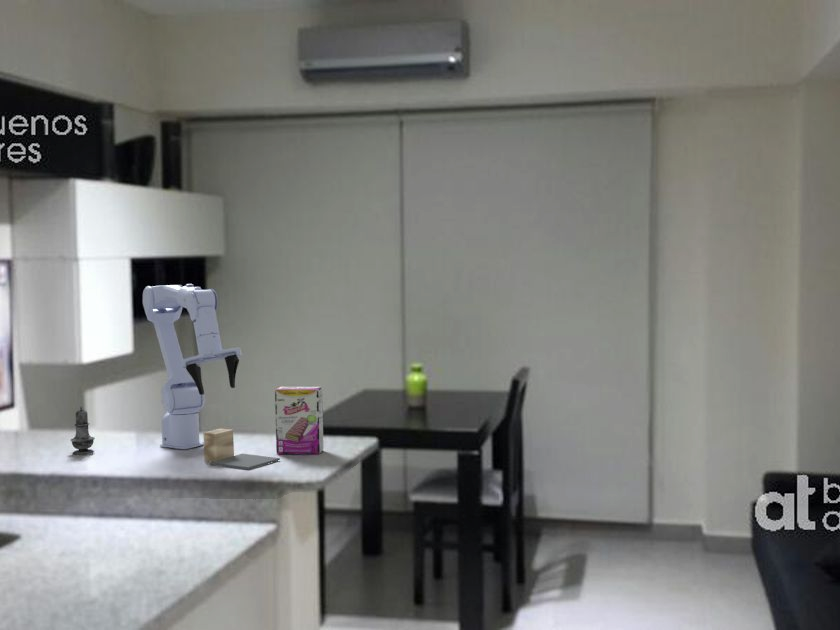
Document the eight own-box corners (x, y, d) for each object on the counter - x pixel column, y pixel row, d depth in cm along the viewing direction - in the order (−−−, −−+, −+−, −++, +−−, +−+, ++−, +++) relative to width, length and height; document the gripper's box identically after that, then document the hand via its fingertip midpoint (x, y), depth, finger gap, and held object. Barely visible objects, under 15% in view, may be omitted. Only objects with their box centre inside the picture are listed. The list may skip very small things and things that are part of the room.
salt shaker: (99, 452, 242) (97, 405, 241) (77, 456, 238) (75, 408, 237) (88, 449, 246) (86, 403, 245) (66, 453, 242) (64, 406, 241)
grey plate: (210, 464, 224) (210, 462, 224) (242, 455, 233) (242, 453, 233) (248, 469, 218) (248, 467, 218) (279, 460, 227) (279, 458, 227)
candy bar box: (275, 454, 234) (273, 389, 233) (280, 450, 239) (278, 386, 238) (320, 454, 233) (318, 388, 232) (324, 450, 238) (322, 385, 237)
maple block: (204, 461, 229) (203, 432, 228) (222, 456, 234) (221, 428, 233) (216, 462, 226) (215, 433, 226) (234, 458, 231) (233, 429, 231)
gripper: (174, 340, 228) (183, 395, 225) (233, 327, 228) (243, 382, 225) (182, 345, 235) (191, 398, 232) (239, 332, 235) (249, 385, 232)
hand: (217, 390), depth 229 cm, fingers open, 7 cm apart
